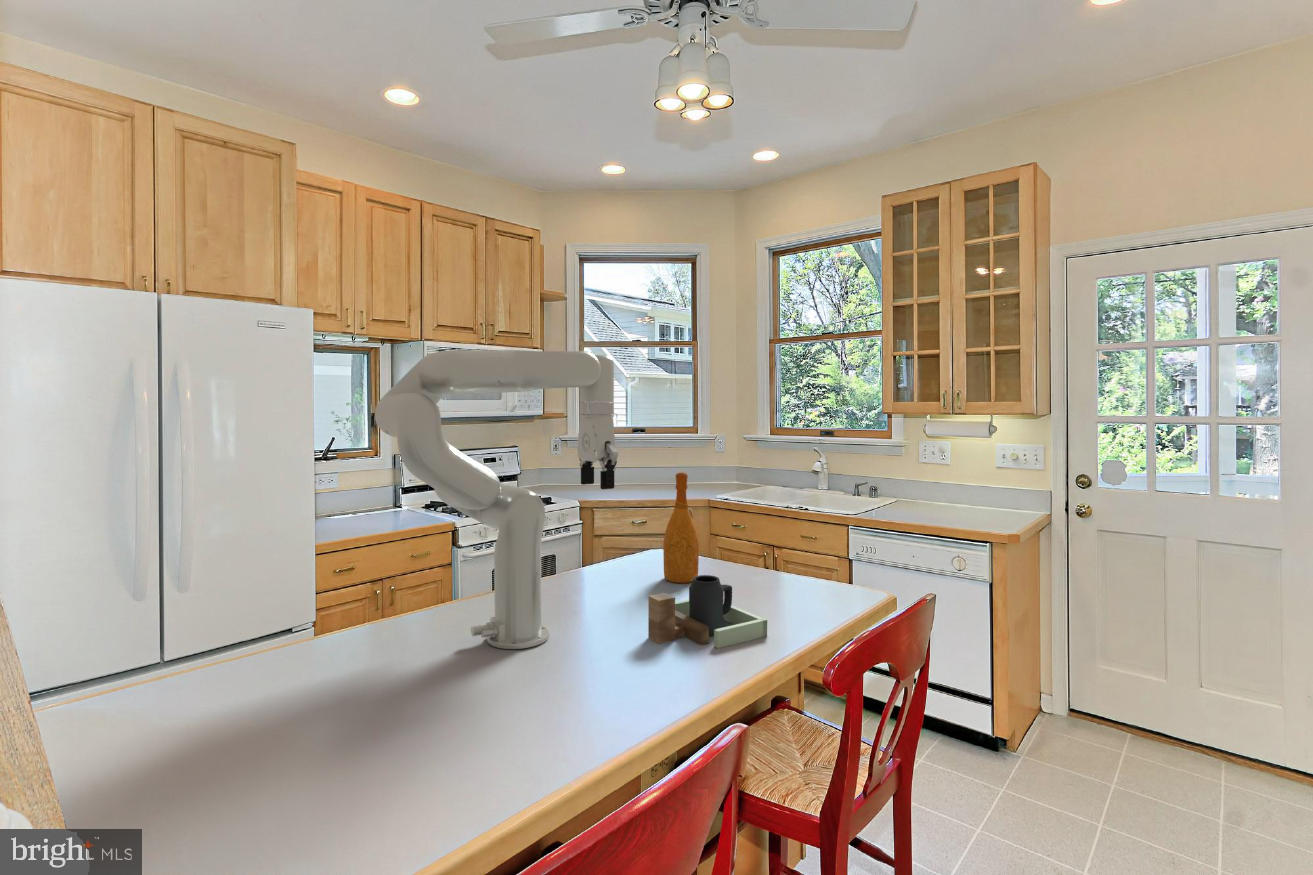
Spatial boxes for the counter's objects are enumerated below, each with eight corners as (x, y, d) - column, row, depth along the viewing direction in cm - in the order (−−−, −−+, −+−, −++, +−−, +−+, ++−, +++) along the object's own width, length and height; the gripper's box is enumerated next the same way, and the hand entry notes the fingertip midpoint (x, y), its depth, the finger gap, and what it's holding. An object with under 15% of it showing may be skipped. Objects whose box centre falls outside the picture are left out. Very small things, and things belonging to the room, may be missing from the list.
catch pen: (717, 648, 131) (717, 631, 131) (662, 619, 149) (662, 604, 148) (767, 636, 138) (767, 619, 138) (708, 610, 156) (708, 595, 155)
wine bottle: (699, 584, 178) (700, 474, 176) (663, 584, 178) (663, 474, 176) (697, 575, 187) (698, 470, 186) (663, 574, 188) (664, 470, 186)
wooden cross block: (671, 651, 130) (672, 607, 129) (636, 630, 141) (636, 589, 141) (708, 643, 134) (709, 600, 134) (671, 623, 146) (671, 583, 146)
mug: (706, 639, 136) (706, 586, 136) (676, 628, 143) (676, 577, 142) (744, 627, 144) (745, 576, 143) (714, 616, 151) (715, 568, 150)
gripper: (565, 410, 152) (565, 483, 153) (600, 411, 138) (600, 492, 139) (594, 410, 156) (594, 481, 157) (631, 411, 142) (630, 489, 143)
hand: (597, 486), depth 148 cm, fingers open, 9 cm apart
